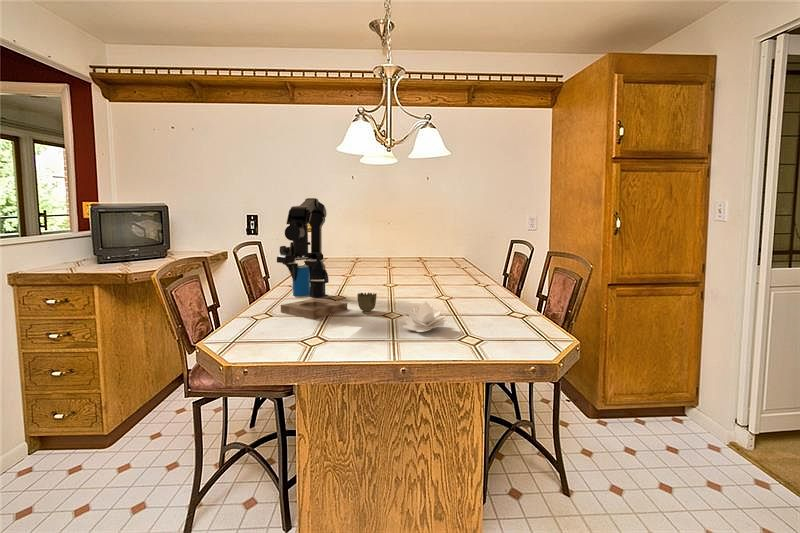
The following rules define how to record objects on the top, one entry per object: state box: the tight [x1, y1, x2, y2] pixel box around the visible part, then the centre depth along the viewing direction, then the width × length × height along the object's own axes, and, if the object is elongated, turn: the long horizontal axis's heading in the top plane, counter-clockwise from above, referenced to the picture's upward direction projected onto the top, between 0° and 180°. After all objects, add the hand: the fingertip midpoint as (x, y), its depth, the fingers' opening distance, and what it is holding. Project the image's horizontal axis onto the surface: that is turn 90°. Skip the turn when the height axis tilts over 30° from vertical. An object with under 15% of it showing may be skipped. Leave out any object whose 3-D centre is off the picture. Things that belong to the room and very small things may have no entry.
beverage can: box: [292, 265, 310, 299], centre depth 171 cm, size 6×6×12 cm
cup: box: [356, 292, 377, 314], centre depth 169 cm, size 8×7×8 cm
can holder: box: [280, 297, 348, 321], centre depth 172 cm, size 18×18×4 cm
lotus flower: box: [402, 301, 446, 333], centre depth 148 cm, size 14×15×9 cm
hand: (301, 279), depth 171 cm, fingers closed on beverage can, 6 cm apart
